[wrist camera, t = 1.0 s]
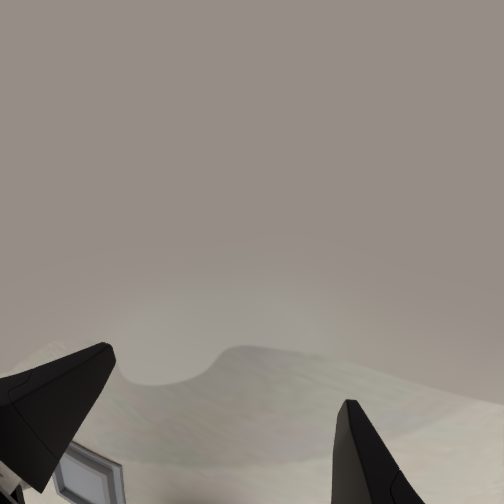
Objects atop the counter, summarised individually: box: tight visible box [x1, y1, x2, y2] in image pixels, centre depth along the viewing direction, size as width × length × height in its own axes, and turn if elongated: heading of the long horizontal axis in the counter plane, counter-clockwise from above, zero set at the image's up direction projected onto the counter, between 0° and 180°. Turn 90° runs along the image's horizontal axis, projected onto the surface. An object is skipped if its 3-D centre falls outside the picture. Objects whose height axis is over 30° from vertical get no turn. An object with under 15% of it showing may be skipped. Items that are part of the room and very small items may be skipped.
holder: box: [52, 441, 126, 504], centre depth 19 cm, size 12×12×2 cm
